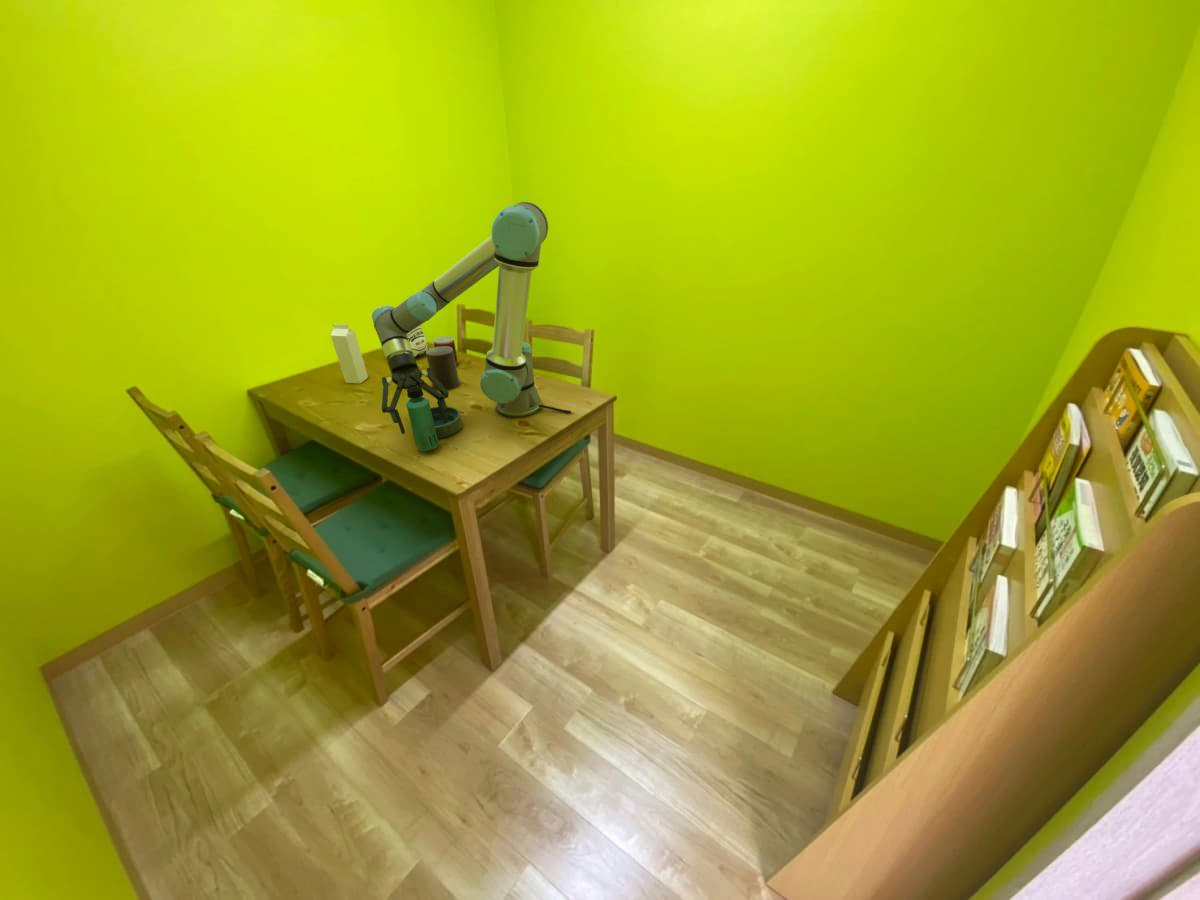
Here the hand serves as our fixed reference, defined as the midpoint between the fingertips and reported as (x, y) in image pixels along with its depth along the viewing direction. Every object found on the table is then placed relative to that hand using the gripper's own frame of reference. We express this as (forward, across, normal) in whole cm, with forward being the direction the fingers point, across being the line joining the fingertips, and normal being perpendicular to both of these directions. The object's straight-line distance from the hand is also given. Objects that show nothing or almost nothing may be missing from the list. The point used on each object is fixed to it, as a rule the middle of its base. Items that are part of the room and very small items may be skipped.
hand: (425, 426), depth 135 cm
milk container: (-54, -13, -67) cm, 87 cm away
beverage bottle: (+5, 0, -9) cm, 10 cm away
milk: (-42, +10, -56) cm, 71 cm away
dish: (-3, -6, -16) cm, 18 cm away
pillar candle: (-26, -18, -39) cm, 50 cm away
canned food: (-40, -24, -53) cm, 70 cm away
